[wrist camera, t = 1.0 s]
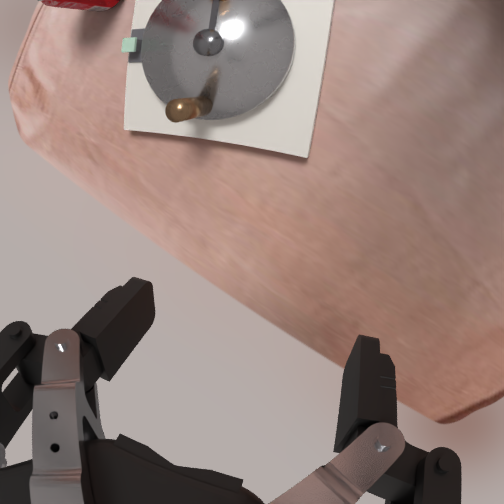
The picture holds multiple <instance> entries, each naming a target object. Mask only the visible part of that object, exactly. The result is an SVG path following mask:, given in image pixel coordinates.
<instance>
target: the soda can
mask: <svg viewBox="0 0 504 504" xmlns="http://www.w3.org/2000/svg"><path fill="white" fill-rule="evenodd" d="M38 1H41V2H42V3H43V4H45V5H47V6H52V7H60V8H70V9H80V10H89V11H105V10H108V9H110V8H112V7H113V6H115V5H116V4H117V3H118V2H119V1H120V0H38Z"/></svg>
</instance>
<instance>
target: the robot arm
mask: <svg viewBox="0 0 504 504" xmlns="http://www.w3.org/2000/svg"><path fill="white" fill-rule="evenodd" d="M154 318H155V305H154V295H153V285H152V283H151V282H149V281H146V280H142V279H139V278H136V277H132V278H131V279H130V280H129V281H128V282H127V283H126V284H125V285H124V286H118V287H116V288H114V289H112V290H110V291H108V292H107V293H106V294H105V295H104V296H103V297H102V298H101V301H98V302H97V303H96V304H95V306H94V307H92V308H91V309H90V310H89V311H88V312H87V313H86V314H85V315H84V316H83V317H82V318H81V319H80V321H79V322H78V323H77V324H76V325H75V326H74V327H73V328H72V329H59V330H56V331H54V332H52V333H51V334H50V335H49V336H45V335H38V334H33V333H32V330H31V328H30V326H29V325H28V324H27V323H26V322H23V321H16V322H13V323H11V324H9V325H7V326H6V327H5V328H4V329H3V330H2V331H1V332H0V504H264V503H263V501H262V500H261V499H260V498H258V497H257V496H256V495H255V494H254V493H252V492H251V491H249V490H248V489H246V488H244V487H242V483H243V479H239V478H236V477H232V476H229V475H226V474H222V473H219V472H216V471H213V470H207V469H198V468H189V467H182V466H176V465H173V464H172V463H170V462H169V461H167V460H166V459H165V458H163V457H162V456H160V455H159V454H157V453H156V452H155V451H153V450H152V449H151V448H149V447H148V446H146V445H144V444H141V443H139V442H137V441H135V440H133V439H130V438H128V437H126V436H124V435H122V434H119V436H118V438H117V439H116V440H112V439H105V436H104V432H103V430H102V426H101V420H100V411H99V402H98V393H97V384H96V381H97V380H98V379H99V377H101V378H103V379H105V380H107V381H110V380H111V379H112V377H113V376H114V375H115V374H116V372H117V371H118V369H119V368H120V367H121V365H122V364H123V363H124V361H125V360H126V359H127V357H128V356H129V355H130V353H131V352H132V351H133V349H134V348H135V347H136V345H137V344H138V342H139V341H140V340H141V339H142V337H143V336H144V334H145V333H146V332H147V331H148V330H149V328H150V327H151V325H152V324H153V321H154ZM15 368H17V370H18V373H17V375H16V376H15V377H14V379H13V380H12V381H11V382H10V384H9V385H8V386H7V387H6V389H5V390H4V391H3V392H2V384H3V382H4V381H5V380H6V378H7V377H8V376H9V375H10V373H11V372H12V371H13V370H14V369H15ZM395 378H396V376H395V366H394V364H393V362H392V360H391V358H390V356H389V355H387V354H381V353H380V342H379V339H378V338H374V337H369V336H364V335H359V336H358V337H357V339H356V342H355V344H354V347H353V349H352V351H351V354H350V356H349V358H348V360H347V363H346V366H345V369H344V373H343V379H342V389H341V398H340V407H339V415H338V423H337V431H336V438H335V445H334V451H333V452H337V453H340V454H338V455H337V456H336V457H335V458H334V459H332V460H331V461H330V462H329V463H327V464H326V465H324V466H321V467H319V468H318V469H316V470H315V471H314V472H312V473H311V474H310V475H308V476H307V477H306V478H304V479H303V480H302V481H301V482H299V483H297V484H296V485H295V486H294V487H292V488H291V489H289V490H288V491H286V492H285V493H283V494H282V495H280V496H279V497H278V498H276V499H275V500H273V501H272V502H270V503H268V504H355V503H356V502H357V501H358V499H359V498H360V497H361V496H362V495H363V494H364V493H365V492H366V491H367V492H369V493H371V494H374V495H376V496H378V497H381V498H383V499H386V500H385V504H461V462H460V459H459V457H458V456H457V454H456V453H455V452H454V451H452V450H451V449H449V448H445V447H438V448H435V449H433V450H432V451H431V452H426V451H424V450H422V449H419V448H417V447H414V446H412V445H410V444H409V443H407V442H406V441H405V439H404V436H403V434H402V433H401V431H400V430H399V429H398V427H397V397H396V380H395ZM32 409H33V413H32V454H33V459H31V460H28V461H25V462H21V463H18V464H14V465H11V466H7V467H6V465H7V461H6V459H5V448H6V447H7V445H8V444H9V442H10V441H11V439H12V438H13V436H14V435H15V433H16V432H17V430H18V429H19V427H20V426H21V425H22V423H23V422H24V420H25V419H26V417H27V416H28V415H29V413H30V412H31V410H32Z"/></svg>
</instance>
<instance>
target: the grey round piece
mask: <svg viewBox="0 0 504 504" xmlns="http://www.w3.org/2000/svg"><path fill="white" fill-rule="evenodd" d="M295 47H296V37H295V29H294V25H293V22H292V19H291V17H290V14H289V12H288V11H287V9H286V7H285V5H284V4H283V3H282V2H281V0H162V1H161V2H160V3H159V4H158V6H157V7H156V8H155V10H154V11H153V13H152V15H151V16H150V18H149V20H148V23H147V25H146V27H145V31H144V34H143V39H142V45H141V59H142V66H143V70H144V73H145V76H146V79H147V81H148V83H149V85H150V87H151V88H152V90H153V91H154V93H155V94H156V95H157V96H158V98H159V99H160V100H161V101H162V102H163V103H165V104H166V108H165V114H166V116H167V118H168V119H169V120H170V121H171V122H174V123H178V122H182V121H186V120H189V119H193V118H196V119H201V120H219V119H225V118H230V117H234V116H238V115H241V114H244V113H246V112H248V111H251V110H253V109H255V108H256V107H258V106H259V105H261V104H263V103H264V102H265V101H266V100H268V99H269V98H270V97H271V96H272V95H273V94H274V93H275V92H276V91H277V90H278V89H279V87H280V86H281V85H282V83H283V82H284V80H285V79H286V77H287V75H288V73H289V71H290V68H291V66H292V63H293V59H294V55H295Z"/></svg>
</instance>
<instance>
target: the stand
mask: <svg viewBox="0 0 504 504" xmlns="http://www.w3.org/2000/svg"><path fill="white" fill-rule="evenodd" d="M161 1H162V0H136V2H135V9H134V15H133V22H132V30H131V38H123V43H122V52H129V56H128V67H127V79H126V93H125V112H124V130H134V131H144V132H154V133H162V134H171V135H179V136H187V137H194V138H201V139H208V140H214V141H221V142H227V143H233V144H239V145H245V146H250V147H256V148H261V149H266V150H271V151H276V152H281V153H286V154H291V155H296V156H300V157H305V158H308V156H309V153H310V148H311V142H312V137H313V131H314V126H315V121H316V115H317V109H318V104H319V98H320V92H321V86H322V80H323V74H324V68H325V62H326V56H327V50H328V43H329V37H330V30H331V24H332V17H333V10H334V3H335V0H281V2H282V3H283V4H284V5H285V7H286V9H287V11H288V12H289V14H290V17H291V19H292V22H293V25H294V29H295V37H296V47H295V55H294V59H293V63H292V66H291V68H290V71H289V73H288V75H287V77H286V79H285V80H284V82H283V83H282V85H281V86H280V87H279V89H278V90H277V91H276V92H275V93H274V94H273V95H272V96H271V97H270V98H269V99H268V100H266V101H265V102H264V103H263V104H261V105H259V106H258V107H256V108H255V109H253V110H251V111H248V112H246V113H244V114H241V115H238V116H234V117H230V118H225V119H219V120H201V119H196V118H193V119H189V120H186V121H182V122H178V123H174V122H171V121H170V120H169V119H168V118H167V116H166V114H165V108H166V104H165V103H163V102H162V101H161V100H160V99H159V98H158V96H157V95H156V94H155V93H154V91H153V90H152V88H151V87H150V85H149V83H148V81H147V79H146V76H145V73H144V70H143V66H142V59H141V45H142V39H143V34H144V31H145V27H146V25H147V23H148V20H149V18H150V16H151V15H152V13H153V11H154V10H155V8H156V7H157V6H158V4H159V3H160V2H161Z"/></svg>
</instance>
